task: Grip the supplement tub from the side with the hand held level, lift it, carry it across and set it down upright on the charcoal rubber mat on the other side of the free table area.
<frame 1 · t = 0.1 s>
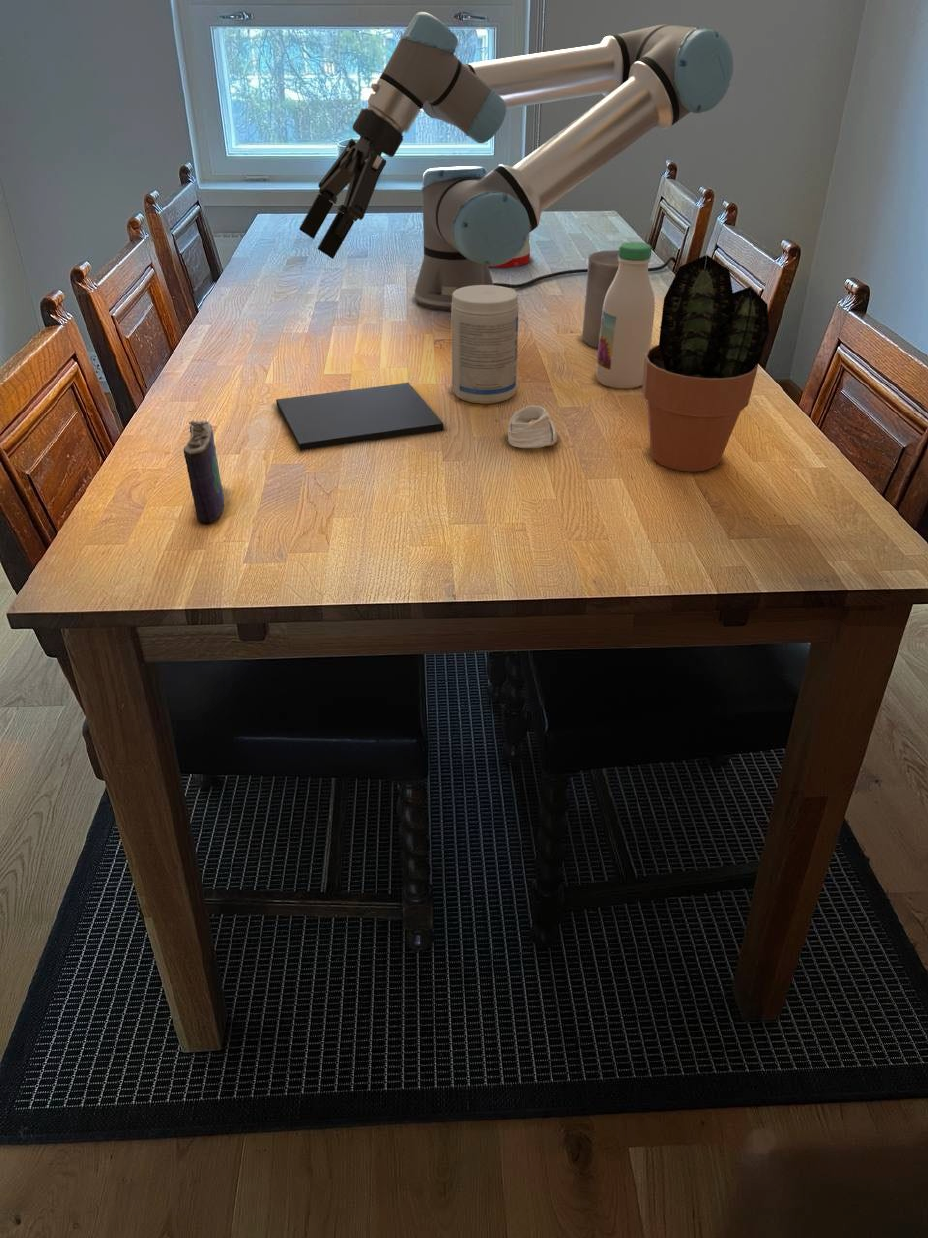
hand: (315, 243, 148), 15 cm above the table, tool tilted 35°, fingers open, 13 cm apart
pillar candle: (609, 341, 156), on the table
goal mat: (358, 417, 129), on the table
milk bottle: (620, 381, 142), on the table
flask: (211, 507, 108), on the table
potted plant: (684, 458, 120), on the table
supplement tub: (483, 394, 137), on the table
white wrapped ring: (532, 443, 123), on the table
kitchen timer: (497, 259, 200), on the table
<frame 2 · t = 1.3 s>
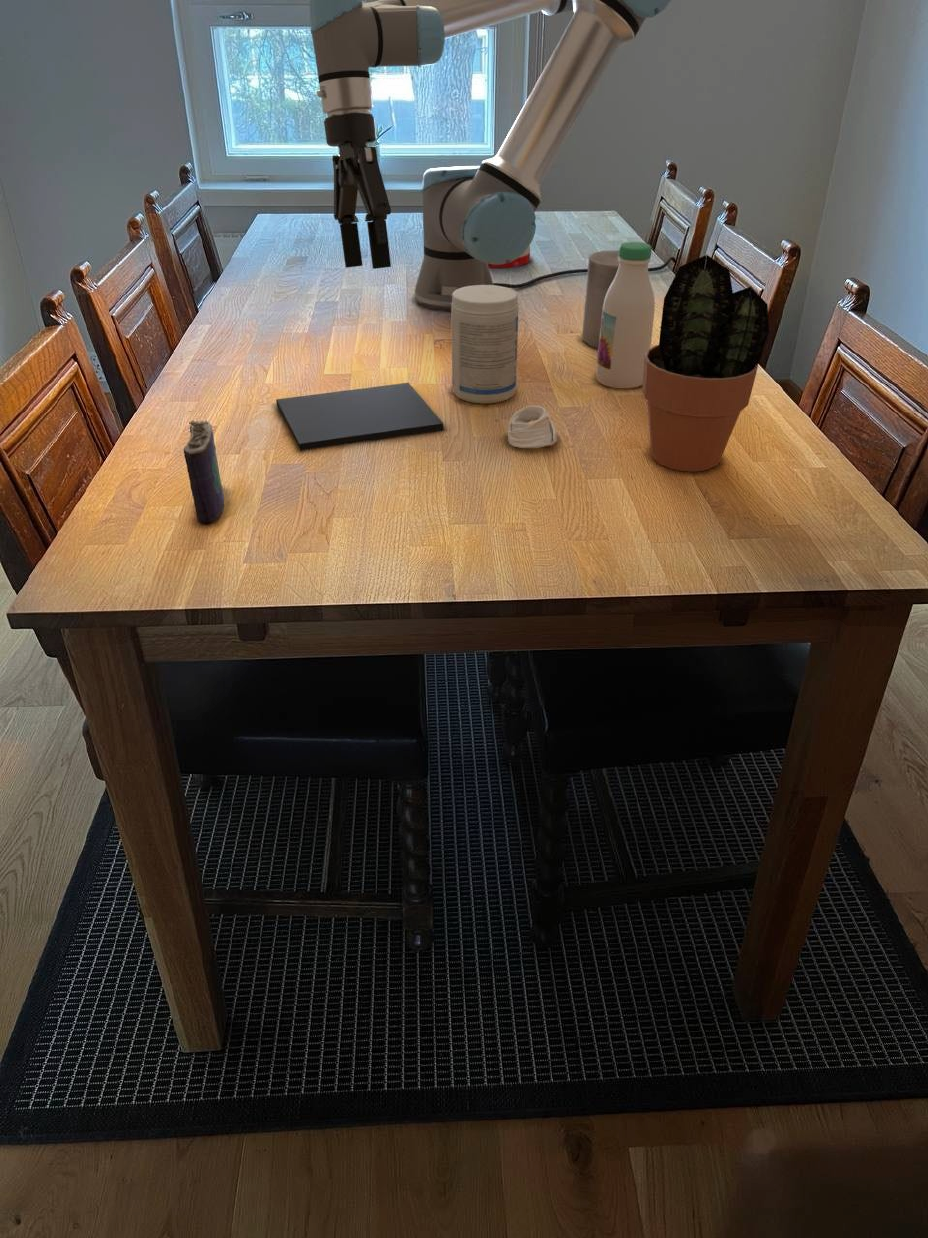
hand: (367, 267, 144), 13 cm above the table, tool pointing down, fingers open, 13 cm apart
nothing on the table moved.
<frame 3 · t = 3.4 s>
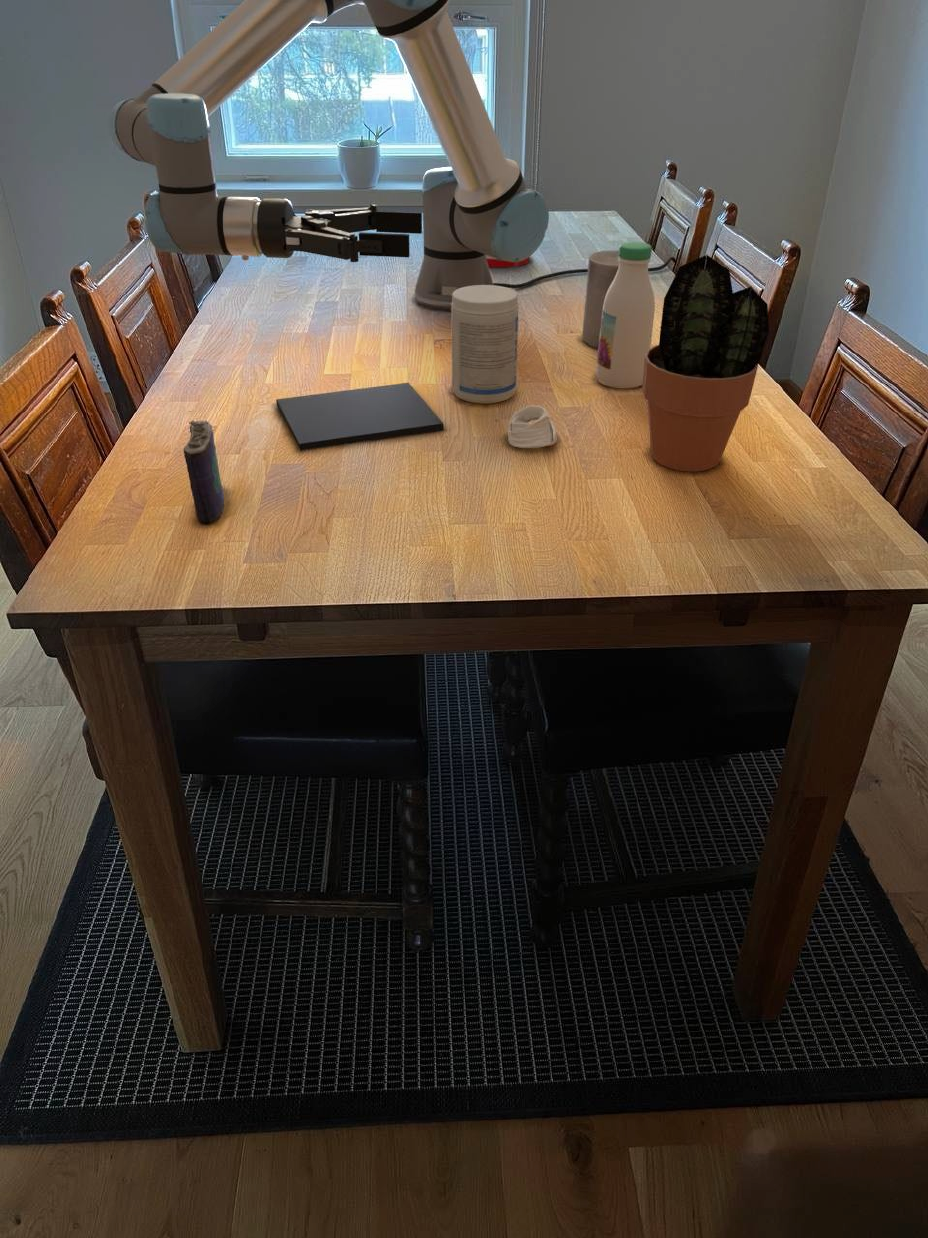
hand: (415, 233, 124), 22 cm above the table, tool horizontal, fingers open, 13 cm apart
nothing on the table moved.
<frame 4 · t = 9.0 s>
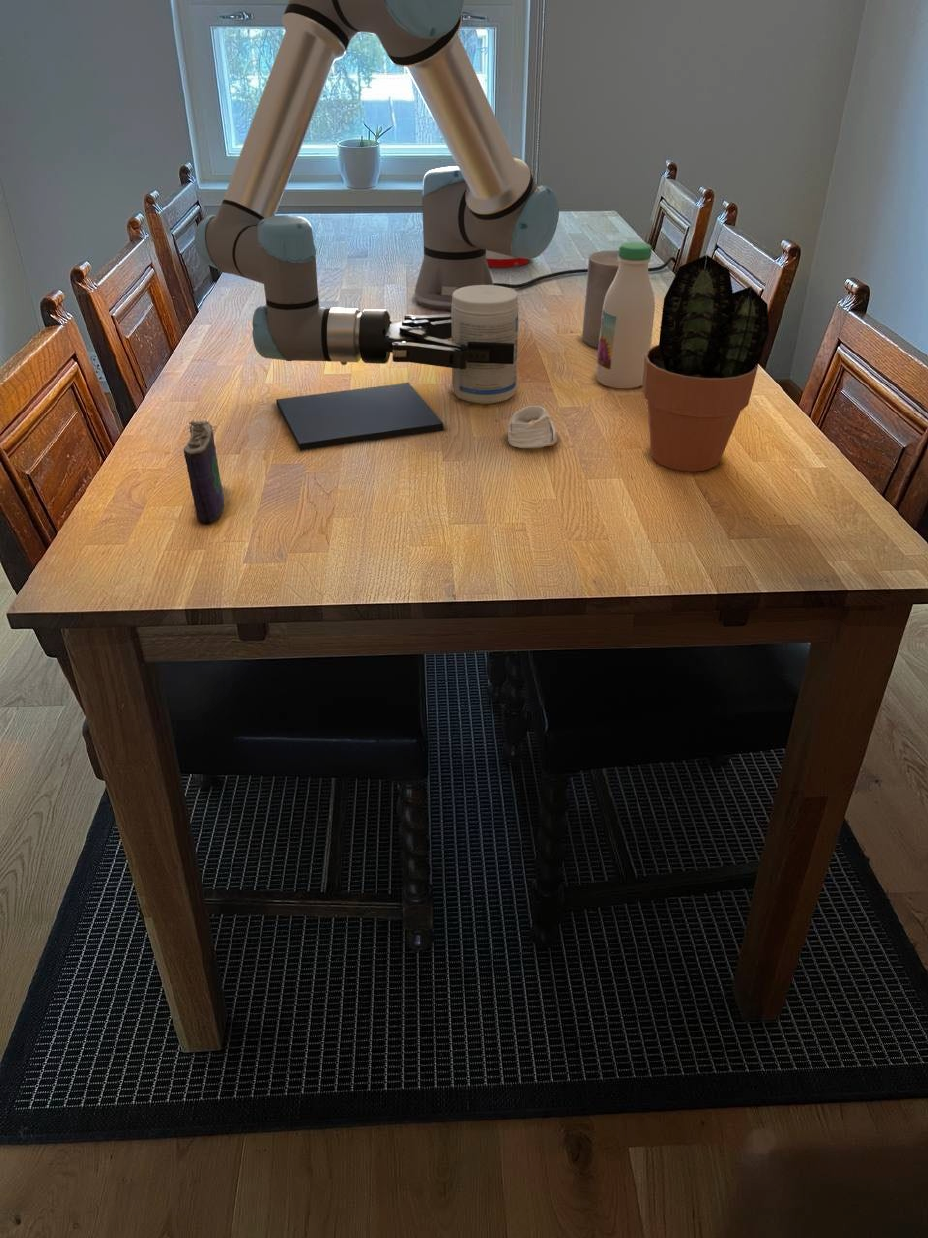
hand: (515, 341, 132), 8 cm above the table, tool horizontal, fingers closed on supplement tub, 9 cm apart
supplement tub: (483, 394, 137), on the table, touching gripper
everything else where it was.
when the fingers open (9 cm above the table, at t = 17.8 s): supplement tub stays where it is, resting on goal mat.
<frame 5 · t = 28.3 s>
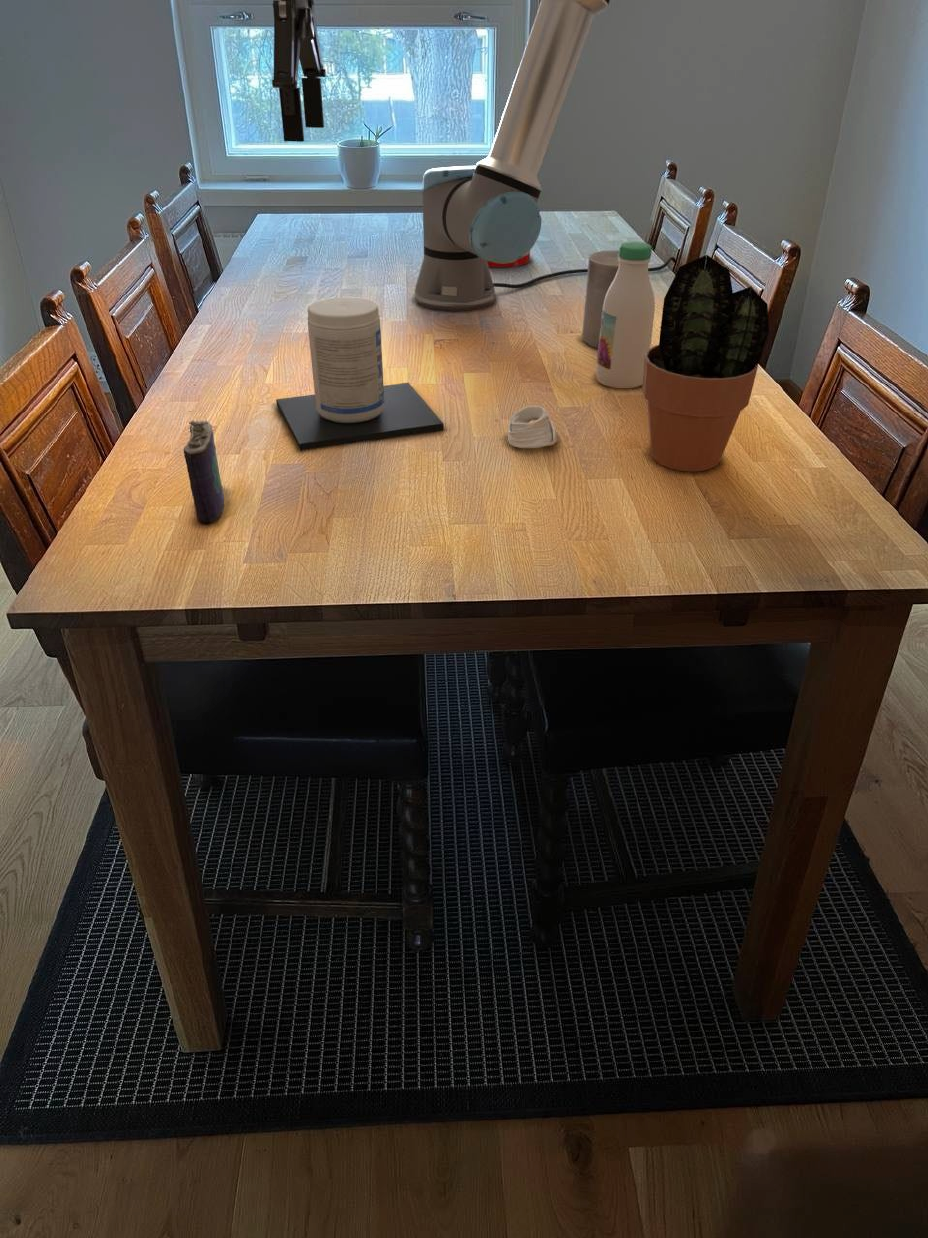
hand: (304, 134, 134), 32 cm above the table, tool pointing down, fingers open, 13 cm apart
supplement tub: (350, 413, 128), point 1 cm above the table, touching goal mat
everything else where it was.
at the end: supplement tub inside the target area on the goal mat (1.0 cm from its centre), point 0.8 cm above the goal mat's base; supplement tub tilted 0°; the gripper is holding nothing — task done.
